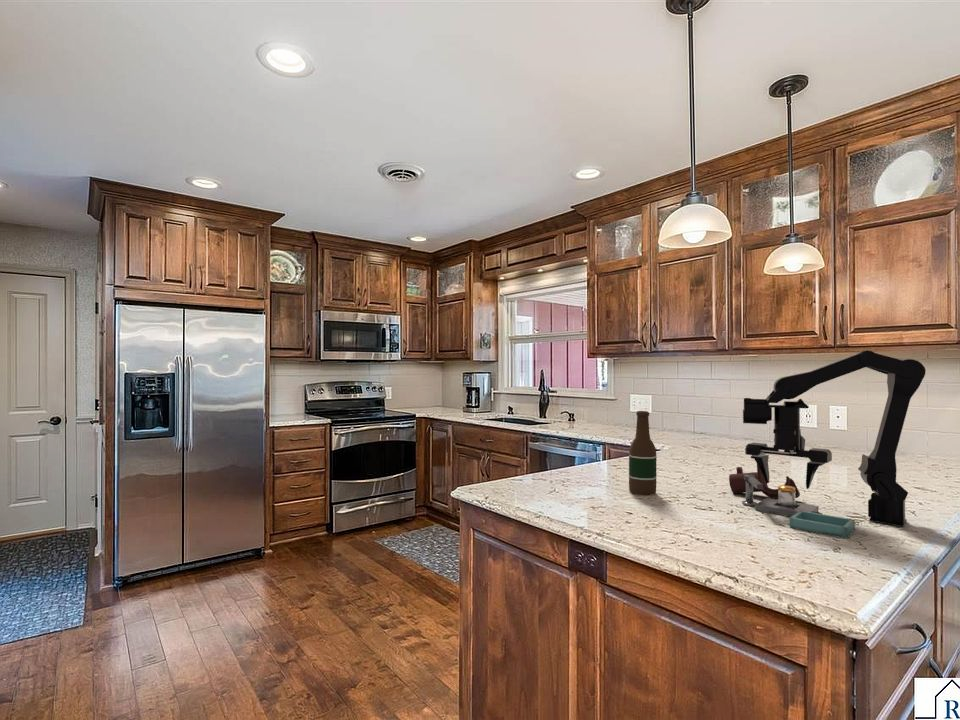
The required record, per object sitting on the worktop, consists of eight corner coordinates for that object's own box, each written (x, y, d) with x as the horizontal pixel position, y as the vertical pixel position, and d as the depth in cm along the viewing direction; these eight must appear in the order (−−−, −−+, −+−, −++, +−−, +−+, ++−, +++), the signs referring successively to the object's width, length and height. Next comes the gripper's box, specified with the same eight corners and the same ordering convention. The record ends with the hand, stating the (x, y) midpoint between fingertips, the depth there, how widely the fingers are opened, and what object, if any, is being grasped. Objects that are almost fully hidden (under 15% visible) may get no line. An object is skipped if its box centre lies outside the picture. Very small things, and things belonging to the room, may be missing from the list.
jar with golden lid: (797, 511, 136) (797, 487, 136) (793, 514, 133) (793, 489, 134) (780, 508, 139) (780, 484, 139) (776, 511, 136) (776, 487, 136)
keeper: (743, 478, 144) (743, 474, 144) (753, 479, 143) (753, 475, 143) (754, 489, 132) (754, 484, 132) (765, 489, 131) (765, 484, 131)
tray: (854, 529, 121) (854, 519, 121) (846, 538, 114) (846, 528, 114) (799, 519, 128) (799, 510, 128) (789, 527, 122) (789, 517, 122)
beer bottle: (623, 490, 157) (623, 410, 158) (643, 488, 161) (643, 409, 161) (641, 496, 150) (641, 412, 151) (662, 494, 154) (662, 411, 154)
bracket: (797, 494, 143) (791, 458, 147) (731, 498, 153) (726, 464, 157) (802, 499, 147) (795, 464, 151) (737, 502, 157) (732, 469, 161)
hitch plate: (818, 511, 135) (818, 486, 136) (808, 519, 128) (808, 493, 128) (748, 500, 147) (748, 477, 147) (735, 506, 140) (735, 482, 140)
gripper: (836, 425, 136) (836, 486, 135) (757, 420, 149) (758, 476, 148) (826, 429, 128) (827, 493, 127) (744, 423, 141) (744, 482, 140)
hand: (787, 485), depth 136 cm, fingers open, 9 cm apart
